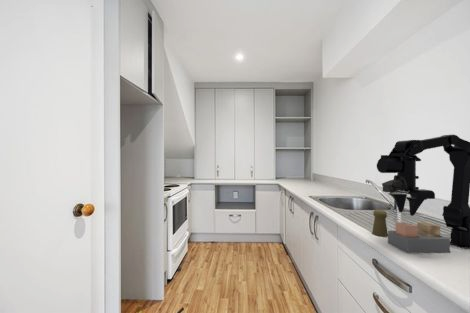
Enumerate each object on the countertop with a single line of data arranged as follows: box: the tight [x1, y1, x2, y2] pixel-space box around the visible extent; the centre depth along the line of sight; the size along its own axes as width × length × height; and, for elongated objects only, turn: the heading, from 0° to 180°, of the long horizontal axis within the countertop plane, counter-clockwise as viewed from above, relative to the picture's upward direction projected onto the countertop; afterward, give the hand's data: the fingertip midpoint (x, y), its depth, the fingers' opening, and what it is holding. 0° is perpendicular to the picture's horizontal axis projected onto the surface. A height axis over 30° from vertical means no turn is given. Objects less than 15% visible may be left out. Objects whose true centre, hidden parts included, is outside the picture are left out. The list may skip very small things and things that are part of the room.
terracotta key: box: [395, 221, 418, 237], centre depth 89 cm, size 5×5×6 cm
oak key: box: [416, 221, 441, 237], centre depth 90 cm, size 5×5×6 cm
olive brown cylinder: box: [371, 209, 388, 238], centre depth 105 cm, size 6×6×11 cm
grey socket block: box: [387, 230, 451, 254], centre depth 89 cm, size 16×10×5 cm, turn 93°
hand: (406, 213), depth 89 cm, fingers open, 5 cm apart
